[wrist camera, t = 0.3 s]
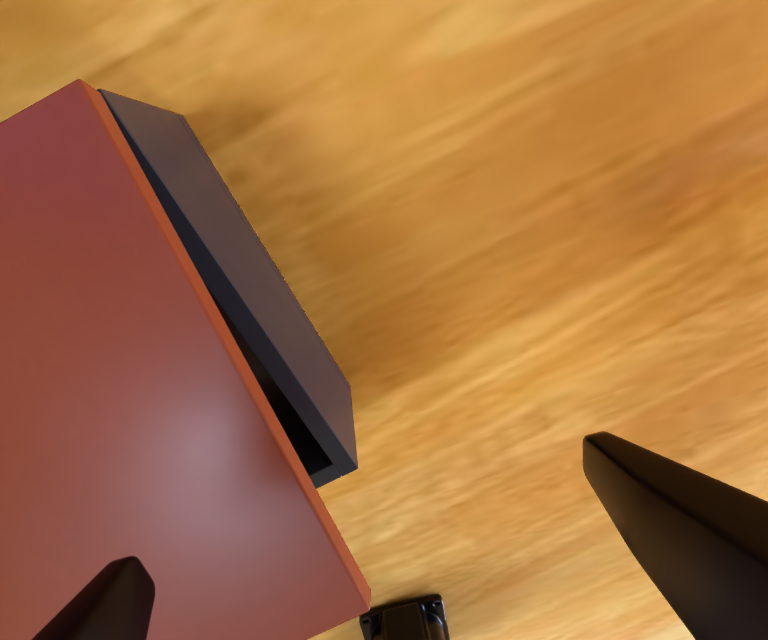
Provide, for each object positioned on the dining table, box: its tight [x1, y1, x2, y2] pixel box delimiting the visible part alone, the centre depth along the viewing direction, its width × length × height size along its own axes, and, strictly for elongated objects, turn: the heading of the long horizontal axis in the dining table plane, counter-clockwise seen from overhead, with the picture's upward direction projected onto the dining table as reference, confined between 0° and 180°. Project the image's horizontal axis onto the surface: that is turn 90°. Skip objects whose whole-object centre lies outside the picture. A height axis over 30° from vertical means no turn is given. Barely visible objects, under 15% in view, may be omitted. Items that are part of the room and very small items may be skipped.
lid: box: [0, 79, 371, 640], centre depth 12 cm, size 16×13×1 cm
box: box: [97, 89, 358, 489], centre depth 17 cm, size 16×13×7 cm
